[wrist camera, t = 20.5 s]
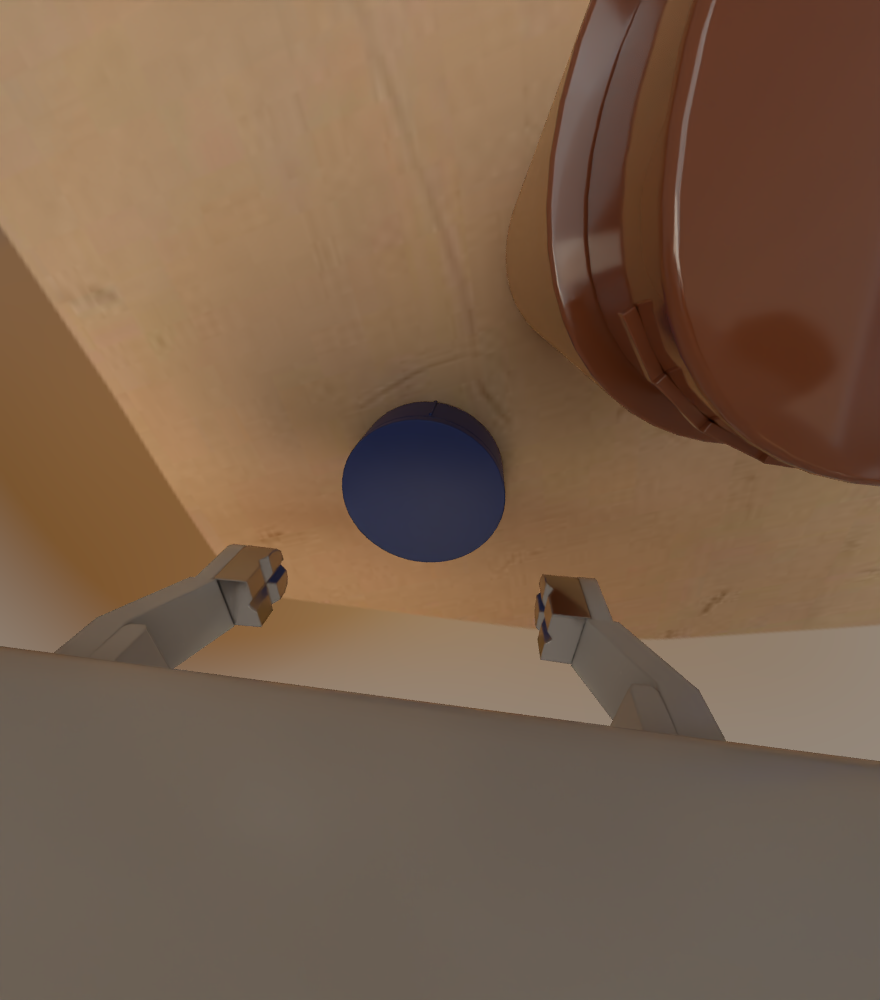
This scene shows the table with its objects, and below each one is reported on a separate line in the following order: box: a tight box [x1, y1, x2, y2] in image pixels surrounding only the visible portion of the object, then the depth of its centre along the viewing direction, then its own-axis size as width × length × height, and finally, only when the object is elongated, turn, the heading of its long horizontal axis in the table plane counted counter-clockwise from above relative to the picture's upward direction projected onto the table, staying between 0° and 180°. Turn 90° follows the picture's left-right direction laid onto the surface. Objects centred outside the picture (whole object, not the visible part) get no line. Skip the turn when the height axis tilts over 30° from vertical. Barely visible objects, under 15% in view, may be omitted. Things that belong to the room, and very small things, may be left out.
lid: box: [342, 401, 505, 562], centre depth 15 cm, size 6×6×2 cm
